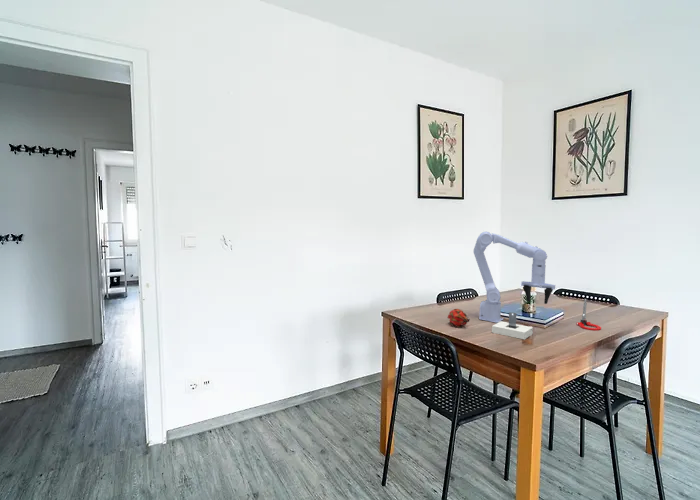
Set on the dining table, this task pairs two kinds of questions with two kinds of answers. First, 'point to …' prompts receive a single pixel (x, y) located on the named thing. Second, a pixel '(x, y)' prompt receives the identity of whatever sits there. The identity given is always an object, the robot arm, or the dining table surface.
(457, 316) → the dragon fruit
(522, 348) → the dining table surface
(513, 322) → the peg
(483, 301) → the robot arm
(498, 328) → the hole block
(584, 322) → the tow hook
